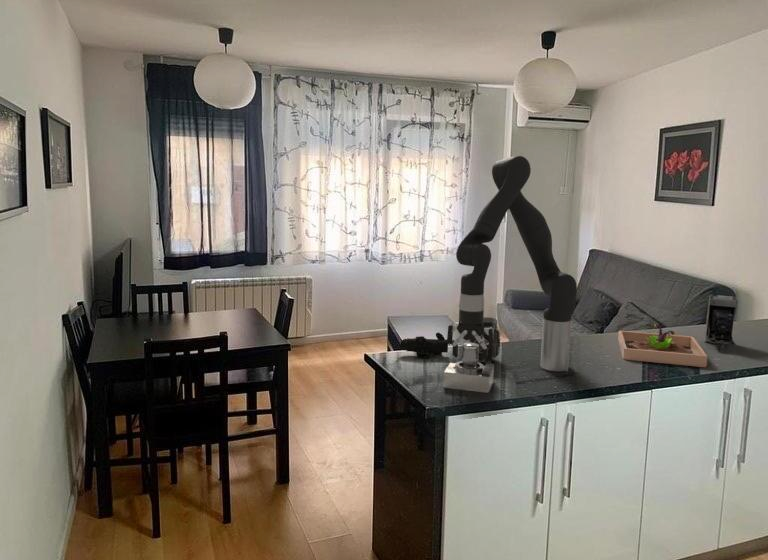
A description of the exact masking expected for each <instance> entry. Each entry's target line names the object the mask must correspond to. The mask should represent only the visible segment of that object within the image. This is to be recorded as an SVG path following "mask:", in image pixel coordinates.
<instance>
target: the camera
mask: <svg viewBox="0 0 768 560" xmlns="http://www.w3.org/2000/svg"><path fill="white" fill-rule="evenodd" d="M498 323H499V322H498V319H497V318H493V317H484V319H483V326H484V328H490V327H493V328H494V345H493V347H492V348H488V351H487V358H486V359H485V360H484V361H482V349H483V347H482V346H481V344H479V342H478V341H477V340H475V341H472V340H469V343H476V344H478V345H479V352H478V362H479V363H487V364H492V361H493V359H496V357H498V355H500V350H501V332H500V330H499V329H498ZM482 336H483V338H484V340H485V341H486V343H489V335H487V334H486V332H485V331H484V332H483V334H482Z"/></svg>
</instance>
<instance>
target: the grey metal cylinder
mask: <svg viewBox="0 0 768 560" xmlns="http://www.w3.org/2000/svg"><path fill="white" fill-rule="evenodd" d="M461 351H462V353H461V361H462V367H464V368H478V352H479V345H478V344H476V343H470V342H465V343H462V350H461Z"/></svg>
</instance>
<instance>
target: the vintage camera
mask: <svg viewBox="0 0 768 560" xmlns="http://www.w3.org/2000/svg"><path fill="white" fill-rule="evenodd" d="M737 306H738V299H737V297H736V296H735V295H732V296H728V295H719V294H718V295H717V294H716V295H715V294H713V293H711V294H710V295H709V298H708V304H707V312H706V313H707V314H706V321H705V327H704V328H705V330H704V338H703V339H704V340H703V341H704V343H713V344H720V352H724V348H725V345H734V346H735V345H737V344H736V342H734V339H733V329H734V322H735V321H734V320H735V315H736V308H737Z"/></svg>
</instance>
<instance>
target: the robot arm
mask: <svg viewBox="0 0 768 560" xmlns="http://www.w3.org/2000/svg"><path fill="white" fill-rule="evenodd" d="M491 176H492V178H493V182H494V184H495V187H496V188H497V190H498V191H497V193H495V195H494V196H493V197H492V198H491V199H490V201H488V202H487V204H486V205H484V207H483V209H482V210H481V211H480V213H479V215H478V217H477V219H476V222H475V224H474V225H473V228H472V229H471V230H470V231H469V232H468V234H467V235H466V236H465V237H464V238H463V240H462V241H460V243H459V245H458V247H457V250H456V251H455V252H456V253H455V255H456V257H455V258H456V260H457V262H458V263H459V264H460V265H463V266H466V267H467V266H468V267H473V268H472V269H473V270H472V272H469V273H464V274H462V276H461V278H460V279H461V280H460V294H459V295H460V296H459V304H458V325H457V324H453V323H449V325H448V326H447V338H446V339H447V343H448V345H449V344H450V346H452V356H453V357H454V359H457V358H458V357H459V343H460V342H461V341H462V340H465V341H470V340H472V341H475V340H477V341H478V342H479V344H481V346H482V347H483V349H482V361H484V360H485V359H486V358H487V351H488V348H492V347H493V345H494V328H493V327H490V328H484V326H483V319H484V318H485V317H484V314H485V313H484V312H485V295H484V293H485V292H484V291H485V280H486V276H487V273H488V269H489V266H490V265H491V264H490V263H491V261H492V252H491V249H490V247H489V246H488V245H487V244H485V243H490V242H492V241H493V240H494V239H495V237H496V235H497V232H498V230H499V228H500V226H501V223H502V222H503V220H504V217H505V216H506V214H507V212H508V211H509V212H510V214H511V216H512V219H513V221H514V223H515V225H516V227H517V230H518V232H519V235H520V237H521V240H522V242H523V244H524V246H525V248H526V250H527V253H528V255H529V257H530V259H531V261H532V263H533V266H534V268H535V271H536V275H537V277H538V281H539V284H540V286H541V287H540V288H541V290H542V292H543V293H544V294H545V295H546V296H548V297H550V301H549V307H548V308H545V309H544V310H543V314H542V315H543V317H542V331H541V332H542V335H541V347H540V348H541V350H540V365H539V366H540V368H541V369H543V370H546V371H551V372H569V364H570V363H569V362H570V360H569V359H570V350H571V349H570V346H571V344H570V343H571V330H572V318H573V315H574V313H575V309H576V301H577V291H578V284H577V281H576V279H575V277H574V276H572V275H571V274H568V273H565V272H562V271H561V269H560V268H559V266H558V264H557V262H556V260H555V258H554V254H553V237H552V233H551V230H550V227H549V224H548V223H547V219H546V218H545V216H544V215H543V214H542V212H541V211H540V210H539V209H537V207H536V206H534V205H533V204H532V203H531V202H530V201H529V200H528V199H527V198H526V197H525V196H524V194H523V193H522V189H523V188H524V186H525V185H526V183H527V182H528V180H529V179H530V177H531V163H530V162H529V160H528V159H527V158H526V157H524V156H523V155H515V156H510V157H507V158H503V159H500V160H497V161H495V162H494V164H493V165H492V168H491ZM456 330H457V332H458V334H459V335H458V337H457V338H455V339H453V334H454V332H456ZM484 331H485V332H486V334H487V335H489V343H486V341H485V340H484V338H483V336H482V334H483V332H484Z"/></svg>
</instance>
